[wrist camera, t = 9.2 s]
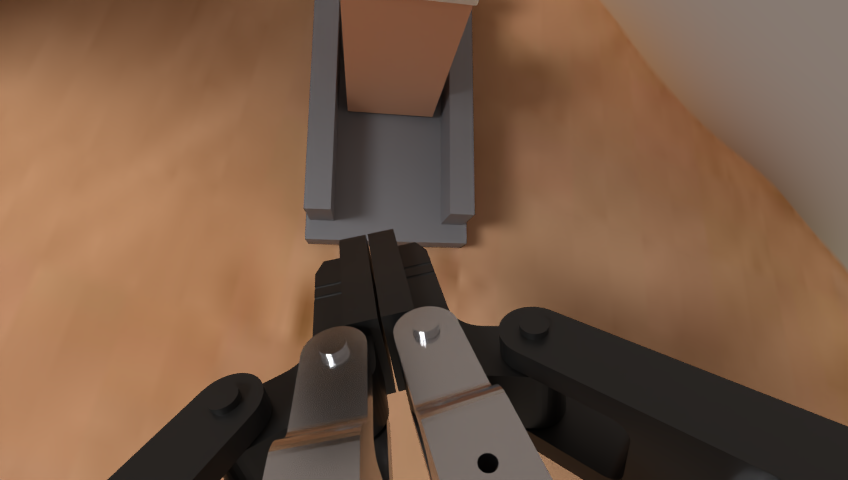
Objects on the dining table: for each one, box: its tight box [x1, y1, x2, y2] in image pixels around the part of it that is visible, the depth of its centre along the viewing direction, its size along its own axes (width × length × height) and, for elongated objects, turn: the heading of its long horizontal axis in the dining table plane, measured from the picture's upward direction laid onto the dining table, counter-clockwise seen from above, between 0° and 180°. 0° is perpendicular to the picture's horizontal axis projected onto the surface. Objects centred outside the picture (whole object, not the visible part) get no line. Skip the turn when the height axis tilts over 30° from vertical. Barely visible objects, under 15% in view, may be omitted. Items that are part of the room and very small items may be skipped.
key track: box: [304, 0, 475, 248], centre depth 23 cm, size 16×8×6 cm, turn 179°
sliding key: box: [340, 0, 479, 117], centre depth 19 cm, size 5×5×10 cm
